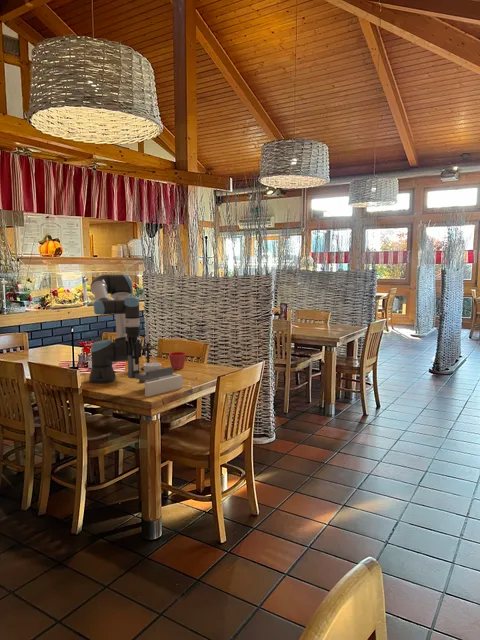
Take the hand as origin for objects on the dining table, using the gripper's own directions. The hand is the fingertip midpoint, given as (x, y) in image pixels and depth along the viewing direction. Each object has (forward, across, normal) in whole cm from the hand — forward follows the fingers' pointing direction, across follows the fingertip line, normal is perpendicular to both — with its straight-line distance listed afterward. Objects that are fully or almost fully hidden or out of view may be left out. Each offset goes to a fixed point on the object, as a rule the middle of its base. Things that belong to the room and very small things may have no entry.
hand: (133, 369), depth 253 cm
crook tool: (+4, +4, +8) cm, 10 cm away
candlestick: (+11, -39, +41) cm, 58 cm away
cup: (+12, +2, +11) cm, 16 cm away
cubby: (+12, +5, +9) cm, 16 cm away
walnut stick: (+12, -14, +22) cm, 29 cm away
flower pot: (+11, -26, +55) cm, 62 cm away
